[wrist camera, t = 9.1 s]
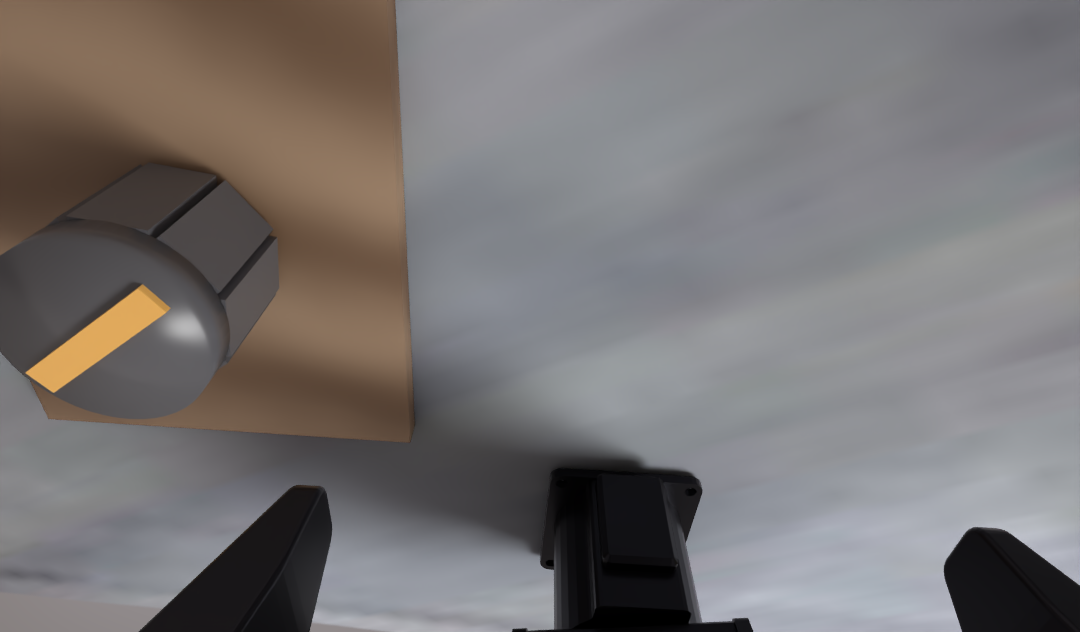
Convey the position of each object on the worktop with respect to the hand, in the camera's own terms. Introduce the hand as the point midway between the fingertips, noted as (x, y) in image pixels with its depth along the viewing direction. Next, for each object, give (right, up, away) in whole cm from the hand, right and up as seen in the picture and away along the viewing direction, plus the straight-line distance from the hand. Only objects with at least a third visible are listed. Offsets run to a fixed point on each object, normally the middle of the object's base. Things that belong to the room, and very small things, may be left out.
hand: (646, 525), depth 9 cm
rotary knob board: (-13, +6, +12) cm, 18 cm away
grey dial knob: (-13, +5, +11) cm, 18 cm away
